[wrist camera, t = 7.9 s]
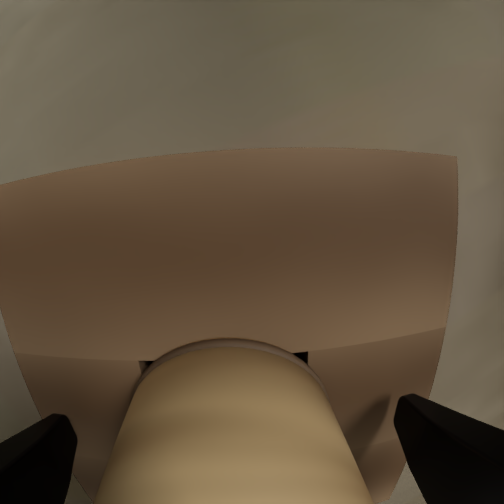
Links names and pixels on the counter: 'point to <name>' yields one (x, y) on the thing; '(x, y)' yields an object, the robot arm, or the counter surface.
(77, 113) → the counter surface
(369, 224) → the board
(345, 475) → the peg
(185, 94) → the counter surface
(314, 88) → the counter surface
